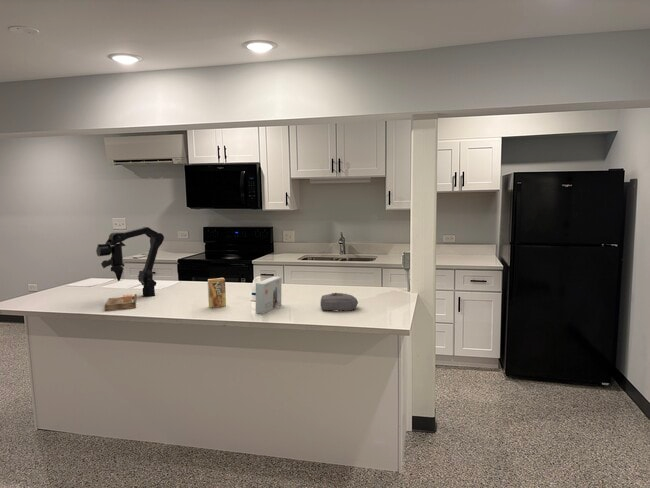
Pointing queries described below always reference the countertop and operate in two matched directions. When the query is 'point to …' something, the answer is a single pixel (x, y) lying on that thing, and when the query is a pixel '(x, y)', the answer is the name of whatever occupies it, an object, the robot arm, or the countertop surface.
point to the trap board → (120, 303)
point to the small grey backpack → (338, 302)
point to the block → (127, 298)
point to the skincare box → (268, 294)
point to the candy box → (216, 292)
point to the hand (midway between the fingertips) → (118, 280)
